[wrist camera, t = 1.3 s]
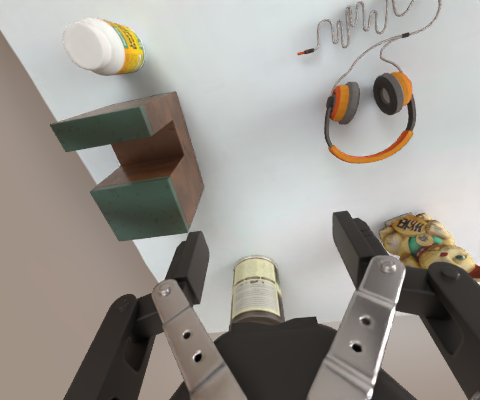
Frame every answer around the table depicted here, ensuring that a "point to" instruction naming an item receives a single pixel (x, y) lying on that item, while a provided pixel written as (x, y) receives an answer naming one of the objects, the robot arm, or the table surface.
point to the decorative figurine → (424, 243)
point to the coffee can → (256, 292)
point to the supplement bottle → (103, 47)
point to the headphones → (385, 91)
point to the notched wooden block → (141, 165)
